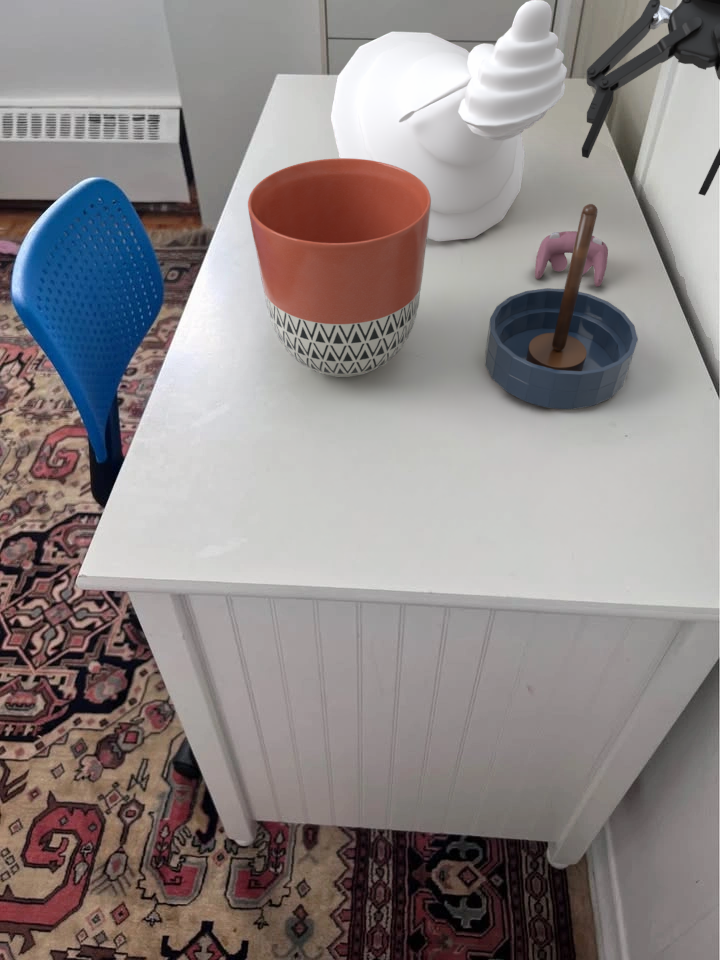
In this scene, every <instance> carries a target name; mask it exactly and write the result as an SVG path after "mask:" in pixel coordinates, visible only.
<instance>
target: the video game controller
mask: <svg viewBox="0 0 720 960" xmlns="http://www.w3.org/2000/svg"><path fill="white" fill-rule="evenodd" d="M576 235H577V230H576V231H575V230H571V231H570V230H566V231H560V232H559V231H558V232H553V233H551V234H549V235H547V236H545V237H544V238H543V240H542V241H541V243H540V244H539V247H538V250H537V253H536V260H535V269H534V277H535V278H536V279H537V280H540V279H541V278H542V277H543V275H544V273H545V271H546V269H547V265H548V263H549V262H550V264H551V265H550V266H551V268H552V269H553V270H554V271H555V272H563V271H565V270H566V268H567V267H568V258H567V257H566V255H565V254H572V253H573V249H574V244H575V240H576ZM608 255H609V249H608V246H607V244H606V243H605V242H604V241H603V240H602V239H600V238H599V237H596V236H595V235H592V238H591V242H590V246H589V250H588V254H587V259H586V263H585V267H584V271H583V275H585V274H586V273H588V271H590V269H591V268H593V271H594V272H593V283H594V286H595V287H596V288H598V287H600V286H601V285H602V283H603V281H604V278H605V275H606V271H607V266H608V258H609V256H608Z"/></svg>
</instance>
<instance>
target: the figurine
mask: <svg viewBox="0 0 720 960" xmlns="http://www.w3.org/2000/svg"><path fill="white" fill-rule="evenodd" d="M552 17H553V10H552V6H551V5H550V4H549V3H548V2H547V1H545V0H528V1H525V2H524V4H521V6H520V7H519V8H518V9H517V11H516V13H515V15H514V17H513V21H512V25H511V27H510V28H509V29H508V30H507V31H506V32H505V33H504V34H503V35H501V36H500V37H499V38H498V39H497V40H496V42H495V44H492V43H486V42H485V43H480V44H477V45H475V46H474V47H473V48H472V50H471V51H470V52H469V51H468V50H467V49H466V48H464V47H462V46H460V45H458V44H455V43H453V42H450V41H449V40H447V39H444V38H442V37H440V36H437V35H436V34H433V33H431V32H419V31H417V32H415V31H389V32H388V33H385V34H384V35H381V36H379V37H378V38H375V39H373V40H371V41H369V42H366V43H364V44H362V45H360V46H358V48H357V49H356V50H355V52H354V53H353V55H352V56H351V57H350V58H349V60H348V61H347V63H346V64H345V66H344V67H343V68H342V69H341V71H340V72H339V74H338V75H337V80H336V84H335V89H334V96H333V102H332V108H331V113H330V120H331V125H332V129H333V135H334V140H335V143H336V148H337V153H338V157H339V158H350V159H364V160H371V161H377V162H382V163H386V164H389V165H393V166H396V167H398V168H401V169H403V170H406V171H408V172H409V173H411V174H413V175H414V176H416V177H417V178H419V179H420V180H421V181H422V182H423V183H424V184H425V186H426V187H427V189H428V190H429V193H430V196H431V207H430V218H429V227H428V234H427V239H429V240H431V241H436V242H445V241H446V242H447V241H457V240H458V241H459V240H466V239H467V240H468V239H469V240H470V239H474V238H476V237H478V236H479V235H480V234H483V233H484V232H486V231H488V230H489V229H490V228H492V227H494V226H495V225H497V224H498V223H500V222H501V221H503V220H504V218H505V216H506V215H507V214H508V211H509V210H510V208H511V206H512V205H513V203H514V201H515V200H516V198H517V196H518V195H519V193H520V192H521V188H522V179H523V173H524V164H525V158H526V150H525V147H524V146H525V145H524V142H523V141H524V140H523V136H522V132H524V131H525V130H527V129H530V128H531V127H532V126H534V124H537V123H538V122H539V121H541V120H542V119H543V118H544V117H545V116H546V114H547V112H548V111H549V110H551V109H552V108H554V107H555V106H556V105H557V103H558V102H559V101H560V100H561V98H562V97H564V95H565V89H566V84H565V80H566V76H567V73H568V68H567V67H566V66H565V64H564V63H563V61H564V59H565V54H564V53H563V52H562V51H561V49H560V48H557V47H558V44H559V36H558V35H557V34H556V33H555V32H552V31H550V29H551V24H552V19H553V18H552Z"/></svg>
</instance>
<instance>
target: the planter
mask: <svg viewBox="0 0 720 960" xmlns="http://www.w3.org/2000/svg"><path fill="white" fill-rule="evenodd" d="M430 207H431V196H430V193H429V190H428V189H427V187H426V186H425V184H424V183H423V182H422V181H421V180H420V179H419V178H417V177H416V176H414V175H413V174H411V173H409V172H408V171H406V170H403V169H401V168H398V167H396V166H393V165H389V164H386V163H382V162H377V161H371V160H364V159H350V158H340V157H339V158H324V159H323V158H322V159H317V160H316V159H315V160H310V161H304V162H301V163H296V164H293V165H290V166H286V167H284V168H282V169H280V170H277V171H275V172H273V173H271V174H269V175H268V176H266V177H265V178H263V179H262V180H260V181H259V182H258V183H257V184H256V185H255V187H253V189H252V190H251V192H250V193H249V197H248V200H247V210H248V215H249V222H250V228H251V233H252V238H253V243H254V247H255V253H256V258H257V262H258V263H257V264H258V267H259V268H258V269H259V274H260V279H261V284H262V290H263V294H264V299H265V305H266V308H267V313H268V317H269V321H270V322H271V325H272V328H273V330H274V332H275V334H276V336H277V338H278V340H279V341H280V343H281V345H282V346H283V348H284V349H285V350H286V352H288V353H289V355H291V357H293V358H294V359H295V360H296V361H297V362H299V363H300V364H301V365H303V366H305V367H307V368H308V369H310V370H312V371H315V372H317V373H320V374H323V375H326V376H331V377H339V378H343V377H345V378H346V377H347V378H348V377H356V376H360V375H364V374H367V373H370V372H372V371H375V370H376V369H378V368H380V367H383V365H385V364H386V363H388V362H389V361H390V360H392V359H393V357H395V356H396V355H397V354H398V353H399V351H401V349H402V348H403V347H404V345H405V344H406V342H407V340H408V339H409V336H410V334H411V331H412V329H413V328H414V324H415V321H416V318H417V315H418V310H419V305H420V299H421V298H420V297H421V292H422V291H421V290H422V284H423V283H422V282H423V276H424V275H423V274H424V267H425V259H426V250H427V249H426V248H427V240H428V238H427V234H428V227H429V218H430Z"/></svg>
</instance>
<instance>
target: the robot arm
mask: <svg viewBox="0 0 720 960" xmlns="http://www.w3.org/2000/svg"><path fill="white" fill-rule="evenodd" d="M663 24H667V30H668V34H666V35H664V36H663V37H662V38H660V39H659V40H658V42H656V43H655V44H653V45H652V46H650V47H648V48H647V49H645V50H644V51H642V52H641V53H639V54H638V55H636V56H634V57H633V58H632V59H629V60H628V61H627V62H625V63H623V64H622V65H620V66H618V67H617V68H615V69H614V70H612V69H613V68H614V67H615V66H617V64H619V63H620V62H621V61H622V60H623V59H624V58H625V56H627V55H628V54H629V53H630V52H631V51H632V50H633V49H634V48H635V47H636V46H637V45H638V44H639V43H640V42H641V41H642V40H643V39H644V38H645V37H646V36H647V35H648V34H649V33H650V31H651V30H654V31H655V30H657V29H658V28H659V27H661V25H663ZM673 57H674V58H675V59H676V60H677V62H678V63H679V64H683V65H694V66H695V67H697V68H698V69H701V70H707V69H710V68H714V70H715V74H716V78H717V79H718V80H719V81H720V0H681V2H680V3H679V5H677V6H676V8H674V9H672V8H669V7H667V6H665V5H661V0H649V1H648V3H647V4H646V6H645V8H644V10H643V12H642V14H641V15H640V17H638V18H637V20H636V21H634V23H633V24H632V25H631V26H630V27H628V28H627V29H626V31H624V32H623V33H622V34H621V36H619V37H618V38H617V40H615V41H614V42H613V43H612V44H611V45H610V46H609V47H608V48H607V49H606V50H605V51H604V52H603V53H602V54H601V55H600V56H599V57H598V58H597V59H595V61H594V62H593V63H592V64H591V65H590V66H589V67H588V68H587V70H586V85H587V86H589V87H592V89H594V90H595V93H594V95H593V97H592V99H591V102H590V104H589V107H588V108H587V111H586V123H588V124H591V125H590V128H589V131H588V133H587V135H586V138H585V140H584V142H583V144H582V147H581V157H583V158H585V159H589V157H590V155H591V154H592V150H593V148H594V146H595V143H596V142H597V139H598V136H599V134H600V132H601V130H602V127H603V126H604V123H605V121H606V118H607V116H608V114H609V112H610V109H611V107H612V104H613V103H614V95H615V91H617V90H619V89H621V88H622V87H624V86H625V85H627V84H629V83H630V82H632V81H633V80H635V79H637V78H639V77H640V76H642V75H644V73H647V71H649V70H651V69H653V68H654V67H656V66H658V65H660V64H663V63H665V62H667V61H668V60H671V59H672V58H673ZM611 70H612V71H611ZM719 168H720V148H719V149H718V151H717V153H716V155H715V158H714V160H713V162H712V163H711V166H710V168H709V170H708V171H707V173H706V176H705V178H704V181H703V182H702V184H701V187H700V189H699V191H698V193H697V194H698V195H702V196H703V197H704V196H706V195H707V193H708V191H709V189H710V187H711V185H712V183H713V182H714V179H715V177H716V174H717V172H718V170H719Z"/></svg>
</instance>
